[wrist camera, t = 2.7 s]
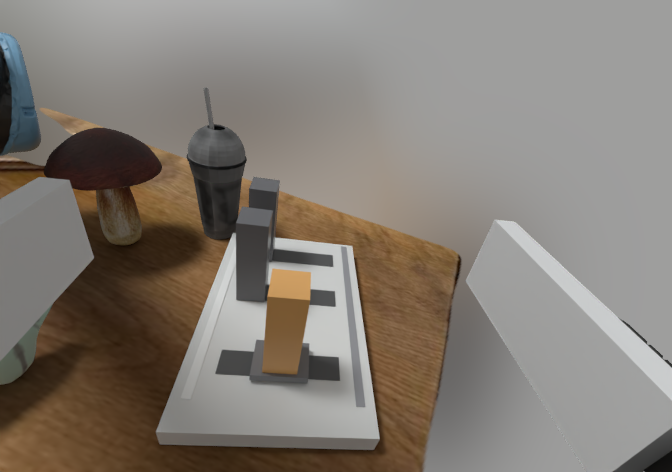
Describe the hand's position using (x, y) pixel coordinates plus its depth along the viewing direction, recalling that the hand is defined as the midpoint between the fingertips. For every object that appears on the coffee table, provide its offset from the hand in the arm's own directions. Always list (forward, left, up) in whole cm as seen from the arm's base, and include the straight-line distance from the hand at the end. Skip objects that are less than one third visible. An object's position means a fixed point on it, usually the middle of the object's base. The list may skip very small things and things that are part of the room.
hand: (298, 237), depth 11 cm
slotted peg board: (0, +16, -23) cm, 28 cm away
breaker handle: (0, +9, -21) cm, 23 cm away
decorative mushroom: (-22, +27, -23) cm, 42 cm away
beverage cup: (-11, +32, -23) cm, 41 cm away
